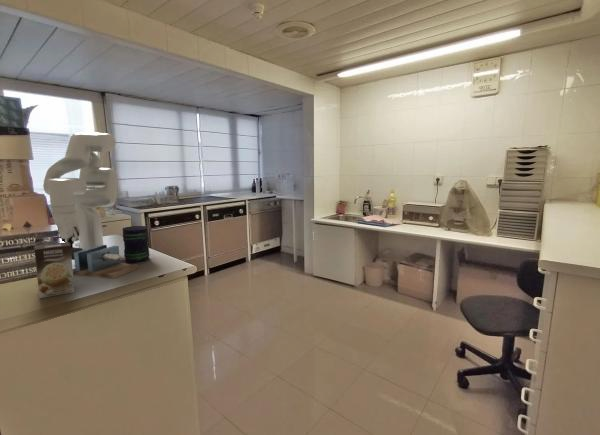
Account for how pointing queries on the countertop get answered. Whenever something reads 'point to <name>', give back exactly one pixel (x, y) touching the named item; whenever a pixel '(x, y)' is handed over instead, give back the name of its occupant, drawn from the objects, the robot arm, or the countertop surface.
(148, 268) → the countertop surface
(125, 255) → the storage jar
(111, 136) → the robot arm
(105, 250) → the bearing blocks
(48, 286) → the coffee box
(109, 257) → the shaft
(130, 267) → the base plate
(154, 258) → the countertop surface
